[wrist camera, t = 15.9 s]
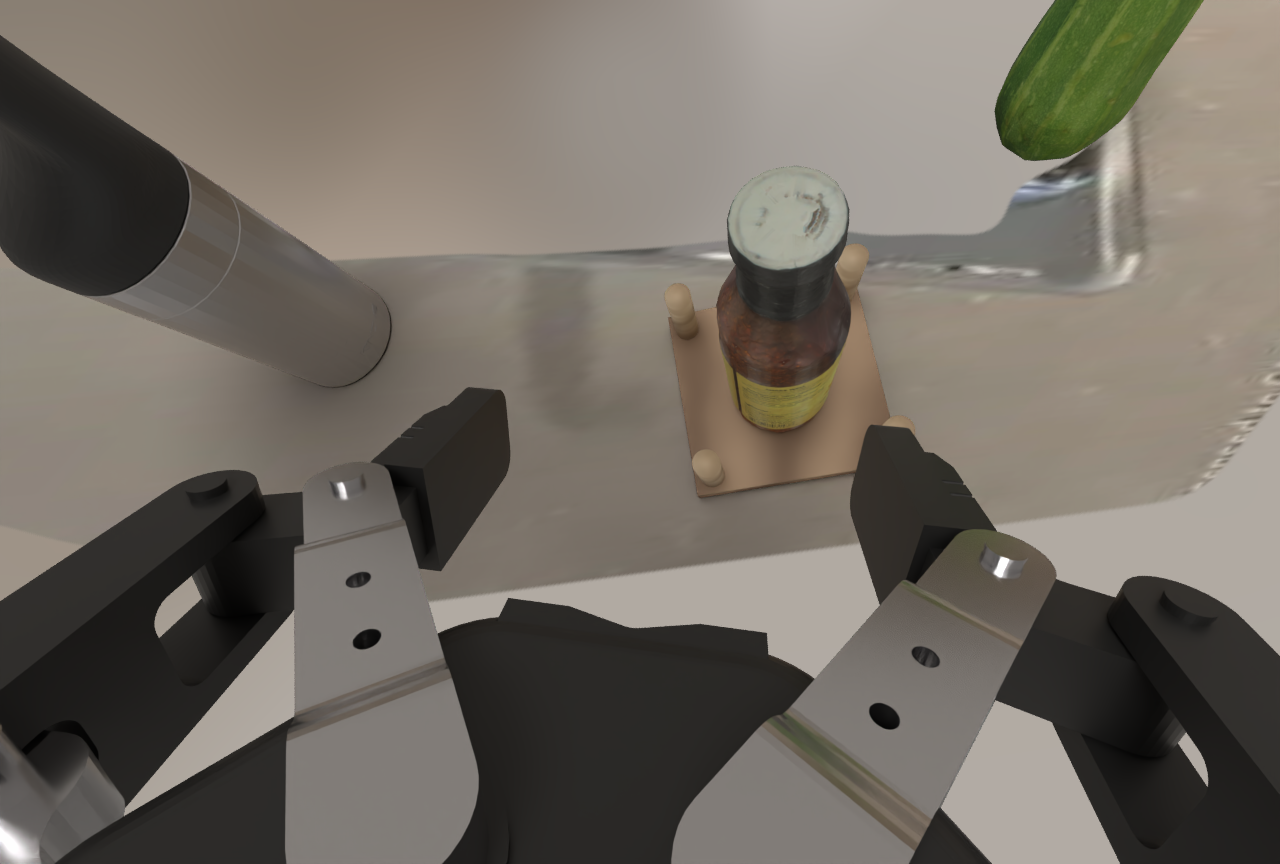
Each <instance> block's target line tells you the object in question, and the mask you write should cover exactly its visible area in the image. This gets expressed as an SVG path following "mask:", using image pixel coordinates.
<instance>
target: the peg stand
mask: <svg viewBox="0 0 1280 864" xmlns="http://www.w3.org/2000/svg"><path fill="white" fill-rule="evenodd" d="M868 259H869V252H868V250H867V249H866V248H865V247H864V246H863V245H860V244H850V245H848V246H846V247H845V248H844V250H843V252H842V255H841V256H840V258H839V261H838V264H837V267H836V270H837V272H838V274H839V276H840V278H841V280H842V282H843V284H844V286H845V288H846V291H847V293H848V296H849V299H850V304H851V324H850V329H849V333H848V337H847V340H846V343H845V347H844V349H843V352H842V355H841V357H840V361H839V364H838V367H837V370H836V373H835V375H834V378H833V381H832V384H831V387H830V390H829V393H828V396H827V398H826V400H825V403H824V404H823V406H822V407H821V409H820V410H819V411H818V413H817V414H816V415H815V416H814V418H813V419H812V420H811V421H809V422H807V423H806V424H804V425H802V426H800V427H798V428H795V429H792V430H790V431H786V432H773V431H768V430H765V429H760V428H758V427H756V426H754V425H752V424H751V423H749V422H748V421H747V420H745V419H744V418H743V417H742V415H741V412H740V411H739V410H738V409H737V407H736V406H735V404H734V402H733V399H732V396H731V392H730V388H729V383H728V379H727V374H726V370H725V365H724V361H723V356H722V352H721V347H720V343H719V328H718V323H717V308H716V307H714V308H710V309H705V310H701V311H696V312H695V311H694V307H693V303H692V299H691V294H690V291H689V289H688V287H687V286H685V285H684V284H679V283H678V284H673V285H671V286H670V287H669V288H668V289H667V290H666V292H665V301H666V304H667V307H668V310H669V313H670V316H671V317H668V319H669V325H670V331H671V337H672V343H673V349H674V355H675V361H676V367H677V373H678V380H679V386H680V392H681V398H682V404H683V410H684V416H685V422H686V428H687V434H688V440H689V446H690V452H691V458H692V466H693V470H694V476H695V482H696V488H697V494H698V497H699V498H702V497H708V496H715V495H721V494H727V493H733V492H739V491H745V490H752V489H758V488H764V487H770V486H776V485H782V484H789V483H795V482H801V481H807V480H813V479H819V478H826V477H832V476H838V475H844V474H850V473H856V469H857V465H858V461H859V457H860V453H861V449H862V445H863V441H864V437H865V433H866V431H867V429H868V427H869V426H870V425H883V426H894V427H905V428H909V429H910V430H911V431H912V433H913V434H914V435H915V426H914V424H913V422H912V421H911V420H910V419H908V418H907V417H904V416H893V417H891V418H890V415H889V411H888V407H887V403H886V399H885V395H884V392H883V388H882V384H881V380H880V376H879V372H878V368H877V364H876V360H875V356H874V352H873V348H872V344H871V341H870V337H869V333H868V329H867V325H866V321H865V317H864V313H863V309H862V305H861V301H860V297H859V294H858V290H857V287H858V284H859V282H860V279H861V277H862V274H863V272H864V269H865V267H866V264H867V262H868Z"/></svg>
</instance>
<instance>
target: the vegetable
mask: <svg viewBox="0 0 1280 864" xmlns="http://www.w3.org/2000/svg"><path fill="white" fill-rule="evenodd" d="M1202 2H1203V0H1055V1H1054V3H1053V4H1052V5H1051V7H1050V8H1049V9H1048V11H1047V12H1046V14H1045V15H1044V16H1043V18H1042V19H1041V21H1040V22H1039V24H1038V25H1037V27H1036V28H1035V30H1034V32H1033V33H1032V34H1031V36H1030V37H1029V39H1028V41H1027V42H1026V44H1025V45H1024V47H1023V48H1022V50H1021V52H1020V53H1019V55H1018V57H1017V58H1016V60H1015V62H1014V63H1013V65H1012V67H1011V69H1010V71H1009V73H1008V76H1007V78H1006V80H1005V82H1004V85H1003V87H1002V89H1001V91H1000V93H999V96H998V99H997V103H996V107H995V117H996V125H997V129H998V133H999V136H1000V140H1001V142H1002V145H1003V146H1004V147H1006V148H1007V149H1009V150H1010V151H1012V152H1013V153H1015V154H1016V155H1018V156H1019V157H1021V158H1022V159H1024V160H1031V161H1038V160H1051V159H1061V158H1065V157H1069V156H1071V155H1073V154H1075V153H1077V152H1079V151H1081V150H1082V149H1084V148H1085V147H1087V146H1088V145H1090V144H1091V143H1093V142H1094V141H1096V140H1097V139H1098V138H1100V137H1101V136H1102V135H1104V134H1105V133H1107V132H1108V131H1109V130H1110V129H1112V128H1113V127H1114V126H1115V125H1116V124H1118V123H1119V122H1120V121H1121V120H1122V119H1123V118H1124V116H1125V115H1126V114H1127V113H1128V111H1129V110H1130V109H1131V108H1132V106H1133V105H1134V103H1135V102H1136V100H1137V99H1138V97H1139V96H1140V94H1141V92H1142V91H1143V89H1144V88H1145V86H1146V85H1147V83H1148V81H1149V80H1150V78H1151V77H1152V75H1153V73H1154V72H1155V70H1156V69H1157V67H1158V66H1159V65H1160V63H1161V62H1162V60H1163V59H1164V58H1165V56H1166V55H1167V53H1168V52H1169V50H1170V49H1171V48H1172V46H1173V45H1174V43H1175V42H1176V40H1177V39H1178V37H1179V36H1180V35H1181V33H1182V32H1183V30H1184V29H1185V27H1186V26H1187V24H1188V23H1189V21H1190V20H1191V19H1192V17H1193V16H1194V14H1195V13H1196V11H1197V10H1198V8H1199V7H1200V5H1201V4H1202Z"/></svg>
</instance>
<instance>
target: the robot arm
mask: <svg viewBox="0 0 1280 864" xmlns="http://www.w3.org/2000/svg"><path fill="white" fill-rule="evenodd" d="M0 247H1V249H2V251H3V252H4V253H5V254H6V256H7V257H8V258H9V259H10V260H11V261H12V262H13V263H14V264H15V265H16V266H17V267H19V268H20V269H22V270H23V271H25V272H26V273H28V274H30V275H32V276H34V277H36V278H38V279H41V280H43V281H45V282H48V283H50V284H53V285H56V286H58V287H61V288H64V289H66V290H69V291H72V292H74V293H77V294H80V295H82V296H85V297H88V298H90V299H93V300H96V301H98V302H101V303H103V304H106V305H109V306H111V307H114V308H117V309H119V310H122V311H125V312H127V313H130V314H133V315H135V316H138V317H141V318H144V319H147V320H149V321H152V322H154V323H157V324H160V325H162V326H165V327H168V328H170V329H173V330H176V331H178V332H181V333H183V334H186V335H189V336H191V337H194V338H197V339H199V340H202V341H205V342H207V343H210V344H213V345H215V346H218V347H220V348H223V349H226V350H228V351H231V352H234V353H236V354H239V355H242V356H244V357H247V358H250V359H252V360H255V361H257V362H260V363H263V364H265V365H268V366H271V367H273V368H276V369H278V370H281V371H283V372H286V373H289V374H291V375H294V376H297V377H299V378H302V379H305V380H308V381H310V382H313V383H316V384H318V385H321V386H326V387H339V386H345V385H347V384H350V383H353V382H355V381H357V380H358V379H360V378H362V377H363V376H365V375H366V374H367V373H368V372H369V371H370V370H371V369H372V368H373V367H374V366H375V365H376V363H377V362H378V361H379V360H380V358H381V356H382V354H383V352H384V351H385V349H386V345H387V342H388V339H389V334H390V316H389V313H388V309H387V306H386V305H385V303H384V301H383V300H382V298H381V297H380V296H379V295H378V294H377V293H376V292H375V291H373V290H372V289H370V288H369V287H367V286H366V285H364V284H363V283H361V282H360V281H359V280H357V279H356V278H354V277H353V276H351V275H350V274H348V273H347V272H345V271H344V270H343V269H341V268H340V267H338V266H337V265H335V264H334V263H332V262H331V261H330V260H328V259H327V258H325V257H324V256H322V255H321V254H319V253H318V252H316V251H315V250H313V249H312V248H310V247H309V246H308V245H306V244H305V243H303V242H302V241H300V240H299V239H297V238H296V237H294V236H293V235H291V234H290V233H288V232H287V231H286V230H284V229H283V228H281V227H280V226H278V225H277V224H275V223H274V222H272V221H271V220H269V219H268V218H266V217H265V216H264V215H262V214H261V213H259V212H258V211H256V210H255V209H253V208H252V207H250V206H249V205H247V204H246V203H245V202H243V201H242V200H240V199H239V198H237V197H236V196H234V195H233V194H231V193H230V192H228V191H227V190H225V189H224V188H222V187H221V186H220V185H218V184H216V183H215V182H213V181H212V180H210V179H209V178H207V177H206V176H205V175H203V174H202V173H200V172H198V171H197V170H196V169H194V168H193V167H191V166H190V165H188V164H187V163H185V162H184V161H183V160H181V159H180V158H178V157H177V156H175V155H174V154H172V153H171V152H169V151H168V150H166V149H165V148H163V147H162V146H160V145H159V144H158V143H156V142H154V141H153V140H151V139H150V138H149V137H147V136H145V135H144V134H142V133H141V132H139V131H138V130H136V129H135V128H133V127H132V126H130V125H129V124H127V123H126V122H124V121H123V120H121V119H120V118H118V117H117V116H115V115H114V114H112V113H111V112H109V111H108V110H106V109H105V108H103V107H102V106H100V105H99V104H98V103H96V102H95V101H93V100H92V99H90V98H88V97H87V96H86V95H84V94H83V93H81V92H80V91H78V90H77V89H76V88H74V87H73V86H71V85H70V84H68V83H67V82H65V81H64V80H62V79H61V78H60V77H58V76H56V75H55V74H54V73H52V72H51V71H49V70H48V69H47V68H45V67H44V66H42V65H41V64H39V63H38V62H37V61H35V60H34V59H32V58H31V57H30V56H28V55H27V54H25V53H24V52H23V51H21V50H20V49H19V48H17V47H16V46H15V45H13V44H12V43H10V42H9V41H8V40H6V39H5V38H3V37H2V36H1V35H0ZM509 463H510V442H509V431H508V420H507V409H506V400H505V396H504V393H503V392H502V391H501V390H494V389H483V388H472V387H468V388H466V389H465V390H464V391H463V392H462V393H461V394H460V395H459V396H458V397H456V398H455V399H454V400H453V401H452V402H451V403H450V404H449V405H448V406H442V407H440V408H438V409H436V410H433V411H431V412H429V413H427V414H425V415H423V416H422V417H421V418H420V419H419V420H418V421H416V422H415V423H414V424H413V425H412V427H411V428H409V429H407V430H406V431H405V432H404V433H403V434H402V435H401V438H399V437H398V438H397V439H396V440H395V441H394V442H393V443H391V444H390V445H389V446H388V447H387V448H386V449H385V450H384V451H382V452H381V453H380V454H379V455H378V456H377V457H376V458H374V459H373V460H372V461H371V462H353V463H346V464H341V465H337V466H334V467H331V468H328V469H326V470H324V471H322V472H320V473H318V474H316V475H315V476H313V477H312V478H311V479H309V480H308V481H307V483H306V484H305V485H304V487H303V492H297V493H284V494H272V495H262V493H261V490H260V488H259V485H258V482H257V479H256V477H255V476H254V475H253V474H251V473H249V472H246V471H240V470H225V471H217V472H212V473H207V474H203V475H200V476H197V477H194V478H191V479H188V480H186V481H184V482H182V483H179V484H177V485H176V486H174V487H172V488H171V489H169V490H168V491H166V492H165V493H163V494H162V495H160V496H159V497H157V498H155V499H154V500H152V501H151V502H149V503H148V504H146V505H145V506H143V507H142V508H140V509H139V510H137V511H136V512H134V513H133V514H131V515H130V516H128V517H127V518H125V519H124V520H122V521H121V522H119V523H118V524H116V525H115V526H113V527H112V528H110V529H109V530H107V531H106V532H104V533H103V534H101V535H100V536H98V537H97V538H95V539H94V540H92V541H91V542H89V543H88V544H86V545H85V546H83V547H81V548H80V549H79V550H77V551H76V552H74V553H72V554H71V555H70V556H68V557H66V558H65V559H63V560H62V561H60V562H59V563H57V564H56V565H54V566H53V567H51V568H50V569H49V570H47V571H46V572H44V573H43V574H41V575H39V576H38V577H36V578H35V579H33V580H32V581H30V582H29V583H27V584H26V585H24V586H23V587H21V588H20V589H18V590H17V591H15V592H14V593H12V594H11V595H9V596H7V597H6V598H4V599H3V600H2V601H0V864H992V863H991V862H990V861H989V860H988V859H987V858H986V857H985V856H984V855H983V853H982V852H981V851H980V850H979V849H978V848H977V847H976V846H975V845H974V844H973V843H972V842H971V841H970V839H969V838H968V837H967V836H966V835H965V834H964V833H963V832H962V831H961V830H960V829H959V828H958V827H957V825H956V824H955V823H954V822H953V821H952V820H951V819H950V818H949V817H948V816H947V815H946V814H945V812H944V811H943V810H942V809H941V806H942V804H943V802H944V800H945V798H946V796H947V794H948V792H949V790H950V788H951V786H952V784H953V782H954V780H955V778H956V776H957V774H958V772H959V770H960V768H961V767H962V765H963V762H964V760H965V759H966V757H967V755H968V753H969V751H970V749H971V747H972V745H973V743H974V741H975V739H976V737H977V735H978V733H979V731H980V729H981V727H982V725H983V723H984V721H985V719H986V717H987V716H988V714H989V712H990V710H991V707H992V706H993V704H994V702H995V700H996V701H999V702H1002V703H1004V704H1007V705H1010V706H1012V707H1014V708H1017V709H1020V710H1022V711H1025V712H1028V713H1030V714H1033V715H1035V716H1038V717H1040V718H1043V719H1046V720H1048V721H1051V722H1052V723H1053V726H1054V728H1055V730H1056V732H1057V734H1058V736H1059V738H1060V740H1061V742H1062V744H1063V747H1064V749H1065V751H1066V753H1067V755H1068V757H1069V759H1070V761H1071V763H1072V765H1073V767H1074V769H1075V771H1076V773H1077V776H1078V778H1079V780H1080V782H1081V784H1082V786H1083V788H1084V790H1085V792H1086V794H1087V796H1088V798H1089V800H1090V802H1091V804H1092V806H1093V809H1094V811H1095V813H1096V815H1097V817H1098V819H1099V821H1100V823H1101V825H1102V827H1103V829H1104V831H1105V833H1106V835H1107V837H1108V839H1109V842H1110V843H1111V846H1112V848H1113V850H1114V852H1115V854H1116V856H1117V858H1118V860H1119V862H1120V864H1280V656H1279V655H1278V654H1277V653H1276V652H1275V651H1274V650H1273V649H1272V648H1271V647H1270V646H1269V645H1268V644H1267V643H1266V642H1265V641H1264V640H1263V639H1262V638H1261V637H1260V636H1259V635H1258V634H1257V633H1256V632H1255V631H1254V630H1253V629H1252V628H1251V627H1250V626H1249V625H1248V624H1247V623H1246V622H1245V621H1244V620H1243V619H1242V618H1241V617H1240V616H1239V615H1238V614H1237V613H1236V612H1234V611H1233V610H1232V609H1230V608H1229V607H1227V606H1226V605H1224V604H1223V603H1221V602H1220V601H1218V600H1216V599H1215V598H1213V597H1211V596H1209V595H1207V594H1205V593H1203V592H1201V591H1199V590H1197V589H1194V588H1192V587H1190V586H1187V585H1184V584H1181V583H1179V582H1176V581H1172V580H1168V579H1164V578H1159V577H1152V576H1137V577H1132V578H1130V579H1128V580H1127V581H1125V582H1124V584H1123V586H1122V588H1121V589H1120V591H1119V593H1118V594H1117V596H1116V598H1115V597H1111V596H1108V595H1105V594H1102V593H1098V592H1095V591H1092V590H1088V589H1085V588H1082V587H1078V586H1075V585H1072V584H1068V583H1066V582H1062V581H1059V580H1057V579H1056V570H1055V568H1054V566H1053V564H1052V563H1051V561H1049V559H1048V558H1047V557H1046V556H1045V555H1044V554H1042V553H1041V552H1040V551H1039V550H1037V549H1036V548H1034V547H1033V546H1031V545H1029V544H1028V543H1026V542H1024V541H1022V540H1020V539H1017V538H1015V537H1013V536H1010V535H1007V534H1004V533H1000V532H997V531H996V529H995V528H994V526H993V525H992V523H991V522H990V520H989V519H988V517H987V516H986V514H985V513H984V511H983V510H982V509H981V507H980V506H979V504H978V503H977V501H976V500H975V498H972V494H971V492H970V491H969V489H968V488H967V487H966V485H963V481H962V479H961V478H960V476H959V475H958V473H957V472H956V470H955V469H954V467H952V466H951V465H950V464H948V463H947V462H945V461H944V460H943V459H941V458H940V457H939V456H937V455H936V454H934V453H928V452H924V450H923V449H922V447H921V446H920V444H919V442H918V441H917V439H916V438H915V436H914V434H913V433H912V431H911V430H910V429H909V428H905V427H894V426H883V425H870V426H869V427H868V429H867V431H866V433H865V437H864V441H863V445H862V449H861V453H860V457H859V461H858V465H857V469H856V473H855V477H854V481H853V485H852V489H851V497H850V510H851V516H852V519H853V523H854V526H855V529H856V532H857V535H858V538H859V541H860V544H861V548H862V551H863V554H864V557H865V560H866V563H867V566H868V569H869V572H870V576H871V579H872V582H873V585H874V588H875V591H876V595H877V597H878V601H879V604H880V606H879V607H878V608H877V609H876V610H875V611H874V613H873V614H872V615H871V616H870V617H869V618H868V619H867V621H866V622H865V623H864V624H863V625H862V626H861V628H859V630H858V631H857V632H856V633H855V634H854V635H853V636H852V638H851V639H850V640H849V641H848V642H847V643H846V644H845V646H844V647H843V648H842V649H841V650H840V651H839V652H838V653H837V655H836V656H835V657H834V658H833V659H832V660H831V661H830V663H829V664H828V665H827V666H826V667H825V668H824V669H823V671H822V672H821V673H820V674H819V675H818V676H817V678H816V679H814V678H813V677H811V676H810V675H809V674H807V673H805V672H804V671H802V670H800V669H798V668H797V667H795V666H794V665H792V664H789V663H787V662H785V661H783V660H781V659H779V658H776V657H774V656H771V655H768V645H767V633H762V632H755V631H748V630H741V629H733V628H726V627H718V626H710V625H704V624H694V625H680V626H665V627H650V628H629V627H625V626H622V625H619V624H617V623H614V622H611V621H608V620H606V619H602V618H600V617H597V616H594V615H592V614H589V613H586V612H584V611H581V610H578V609H575V608H573V607H570V606H563V605H555V604H548V603H541V602H534V601H526V600H518V599H511V598H508V600H507V602H506V604H505V606H504V608H503V610H502V612H501V614H500V616H499V617H496V618H488V619H482V620H476V621H472V622H468V623H465V624H461V625H458V626H455V627H453V628H450V629H447V630H444V631H442V632H440V633H438V634H437V631H436V627H435V624H434V620H433V617H432V613H431V610H430V606H429V603H428V599H427V596H426V592H425V589H424V585H423V582H422V578H421V575H420V571H419V568H420V569H428V570H435V571H441V570H442V569H443V567H444V566H445V565H446V563H447V562H448V560H449V559H450V557H451V556H452V554H453V553H454V551H455V550H456V548H457V547H458V545H459V544H460V543H461V541H462V540H463V538H464V537H465V535H466V534H467V532H468V531H469V529H470V528H471V526H472V525H473V523H474V522H475V520H476V519H477V518H478V516H479V515H480V513H481V512H482V510H483V509H484V507H485V506H486V504H487V503H488V501H489V500H490V498H491V497H492V496H493V494H494V493H495V491H496V490H497V488H498V487H499V485H500V484H501V482H502V481H503V479H504V478H505V476H506V474H507V471H508V468H509ZM191 576H192V577H193V580H194V582H195V584H196V586H197V588H198V591H199V593H200V595H201V597H202V599H201V600H200V601H199V602H198V603H197V604H196V605H195V606H193V607H192V608H191V609H190V610H189V611H188V612H187V613H186V614H185V615H184V616H183V617H182V618H181V619H179V620H178V621H177V622H176V623H175V624H174V625H173V626H172V627H171V628H170V629H169V630H168V631H166V632H165V633H164V634H163V635H162V636H161V637H160V638H158V636H157V634H156V631H155V627H154V621H155V616H156V613H157V610H158V608H159V606H160V605H161V603H162V602H163V601H164V600H165V598H166V597H167V596H168V595H170V594H171V593H172V592H173V591H174V590H175V589H177V588H178V587H179V586H180V585H181V584H182V583H184V582H185V581H186V580H187V579H188V578H189V577H191ZM293 610H294V618H295V619H294V622H295V623H294V624H295V627H294V628H295V630H294V634H295V715H294V717H293V718H291V719H289V720H288V721H286V722H284V723H282V724H281V725H279V726H277V727H276V728H274V729H272V730H270V731H269V732H267V733H265V734H264V735H262V736H260V737H259V738H257V739H255V740H253V741H252V742H250V743H248V744H247V745H245V746H243V747H242V748H240V749H238V750H236V751H235V752H233V753H231V754H229V755H228V756H226V757H224V758H223V759H221V760H219V761H217V762H216V763H214V764H213V765H211V766H209V767H207V768H206V769H204V770H202V771H200V772H199V773H197V774H195V775H194V776H192V777H190V778H188V779H187V780H185V781H184V782H182V783H180V784H178V785H177V786H175V787H173V788H172V789H170V790H168V791H166V792H165V793H163V794H161V795H159V796H158V797H156V798H155V799H153V800H151V801H149V802H148V803H146V804H144V805H143V806H141V807H139V808H137V809H136V810H134V811H132V812H131V813H129V814H127V815H125V816H124V812H125V807H126V806H127V805H128V804H129V803H130V802H131V800H132V799H133V798H134V797H135V796H136V795H137V793H138V792H139V791H140V790H141V789H142V787H143V786H144V785H145V784H146V783H147V782H148V780H149V779H150V778H151V777H152V776H153V775H154V774H155V772H156V771H157V770H158V769H159V768H160V766H161V765H162V764H163V763H164V762H165V761H166V759H167V758H168V757H169V756H170V755H171V754H172V752H173V751H174V750H175V749H176V747H178V745H179V744H180V743H181V742H182V741H183V740H184V738H185V737H186V736H187V735H188V734H189V733H190V731H191V730H192V729H193V728H194V727H195V726H196V724H197V723H198V722H199V721H200V720H201V719H202V717H203V716H204V715H205V714H206V713H207V711H208V710H209V709H210V708H211V707H212V706H213V704H214V703H215V702H216V701H217V700H218V699H219V697H220V696H221V695H222V694H223V693H224V692H225V690H226V689H227V688H228V687H229V686H230V685H231V683H232V682H233V681H234V680H235V678H237V676H238V675H239V674H240V673H241V672H242V671H243V669H244V668H245V667H246V666H247V665H248V663H249V662H250V661H251V660H252V659H253V658H254V656H255V655H256V654H257V653H258V652H259V651H260V649H261V648H262V647H263V646H264V645H265V644H266V642H267V641H268V640H269V639H270V638H271V637H272V635H273V634H274V633H275V632H276V631H277V630H278V628H279V627H280V626H281V625H282V624H283V622H284V621H285V620H286V619H287V618H288V617H289V615H290V614H291V613H292V611H293ZM1186 732H1187V734H1188V735H1189V736H1190V738H1191V739H1192V741H1193V742H1194V744H1195V745H1196V746H1197V748H1198V750H1199V751H1200V753H1201V755H1202V757H1203V759H1204V761H1205V764H1206V767H1207V772H1208V787H1207V786H1206V784H1205V783H1204V781H1203V780H1202V778H1201V777H1200V775H1199V774H1198V772H1197V771H1196V769H1195V768H1194V766H1193V765H1192V763H1191V762H1190V761H1189V759H1188V758H1187V756H1186V755H1185V753H1184V752H1183V751H1182V749H1181V747H1180V746H1179V744H1178V742H1179V741H1180V739H1181V738H1182V737H1183V736H1184V734H1185V733H1186Z"/></svg>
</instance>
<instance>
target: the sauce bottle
mask: <svg viewBox="0 0 1280 864" xmlns="http://www.w3.org/2000/svg"><path fill="white" fill-rule="evenodd" d="M848 226H849V207H848V203H847V200H846V198H845V195H844V193H843V192H842V190H841V189H840V188H839V186H838V184H837V182H836V181H834V180H833V179H832V178H830V176H828V175H826V174H825V173H823V172H821V171H819V170H815V169H811V168H806V167H799V166H791V167H781V168H776V169H773V170H769V171H766V172H763V173H762V174H760V175H759V176H757V177H755V178H753V179H752V180H750V181H749V182H748V183H747V184H746V185H745V186H744V187H743V188H742V189H741V190H740V191H739V192H738V194H737V195H736V197H735V199H734V201H733V202H732V205H731V207H730V210H729V215H728V218H727V227H728V228H727V229H728V245H729V252H730V255H731V257H732V259H733V262H734V263H735V264H736V265H735V267H734V268H733V270H732V271H731V273H730V274H729V276H728V277H727V279H726V281H725V282H724V284H723V285H722V287H721V290H720V293H719V297H718V301H717V304H716V308H717V323H718V328H719V343H720V347H721V352H722V356H723V361H724V365H725V370H726V374H727V379H728V383H729V388H730V392H731V396H732V399H733V402H734V404H735V406H736V407H737V409H738V410H739V411H740V412H741V415H742V417H743V418H744V419H745V420H747V421H748V422H749V423H751V424H752V425H754V426H756V427H758V428H760V429H765V430H768V431H773V432H786V431H790V430H792V429H795V428H798V427H800V426H802V425H804V424H806V423H807V422H809V421H811V420H812V419H813V418H814V416H815V415H816V414H817V413H818V411H819V410H820V409H821V407H822V406H823V404H824V403H825V400H826V398H827V396H828V393H829V390H830V387H831V384H832V381H833V378H834V375H835V373H836V370H837V367H838V364H839V361H840V357H841V355H842V352H843V349H844V347H845V343H846V340H847V337H848V333H849V329H850V324H851V304H850V299H849V296H848V293H847V291H846V288H845V286H844V284H843V282H842V280H841V278H840V276H839V274H838V272H837V270H836V268H835V263H836V262H837V261H838V260H839V258H840V256H841V255H842V252H843V250H844V248H845V245H846V241H847V231H848Z"/></svg>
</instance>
